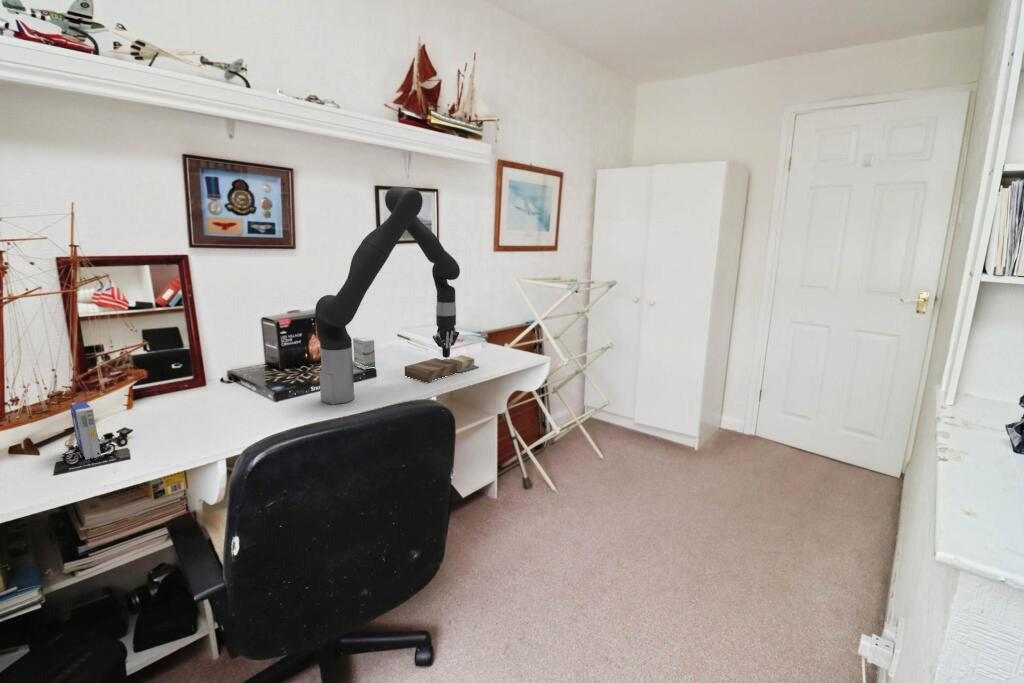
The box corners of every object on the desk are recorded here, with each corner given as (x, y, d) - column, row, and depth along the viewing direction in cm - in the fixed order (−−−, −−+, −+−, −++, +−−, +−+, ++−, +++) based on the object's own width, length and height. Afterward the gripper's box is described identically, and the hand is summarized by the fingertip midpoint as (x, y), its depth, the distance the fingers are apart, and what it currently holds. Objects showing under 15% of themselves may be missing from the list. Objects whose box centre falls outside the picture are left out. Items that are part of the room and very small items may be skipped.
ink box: (376, 368, 187) (375, 339, 184) (364, 371, 183) (363, 341, 181) (365, 364, 192) (363, 335, 190) (353, 366, 189) (352, 337, 186)
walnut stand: (427, 383, 171) (427, 372, 170) (404, 376, 177) (404, 366, 177) (457, 373, 183) (457, 363, 182) (435, 367, 190) (435, 358, 189)
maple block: (474, 358, 192) (474, 365, 193) (461, 355, 196) (461, 362, 197) (462, 361, 187) (462, 368, 188) (449, 358, 191) (449, 365, 192)
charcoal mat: (460, 373, 183) (460, 372, 183) (427, 365, 193) (427, 363, 193) (478, 367, 192) (478, 366, 192) (446, 360, 202) (446, 358, 202)
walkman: (77, 450, 113) (68, 402, 111) (93, 446, 115) (84, 399, 113) (85, 460, 109) (76, 410, 106) (101, 456, 111) (92, 407, 108)
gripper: (441, 316, 174) (441, 362, 178) (465, 312, 185) (464, 355, 189) (426, 314, 179) (427, 358, 182) (450, 310, 189) (450, 352, 193)
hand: (446, 357), depth 185 cm, fingers closed
